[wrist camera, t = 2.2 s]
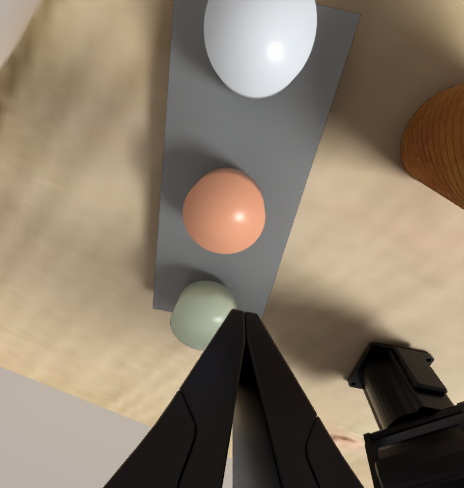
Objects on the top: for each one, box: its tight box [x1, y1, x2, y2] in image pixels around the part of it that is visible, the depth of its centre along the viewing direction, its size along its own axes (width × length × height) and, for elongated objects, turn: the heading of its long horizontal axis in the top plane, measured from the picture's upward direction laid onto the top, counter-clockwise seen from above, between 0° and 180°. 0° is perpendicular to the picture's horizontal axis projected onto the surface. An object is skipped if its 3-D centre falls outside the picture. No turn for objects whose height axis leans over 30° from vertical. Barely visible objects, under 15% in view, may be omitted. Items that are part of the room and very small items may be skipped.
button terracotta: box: [183, 168, 265, 254], centre depth 16 cm, size 5×5×2 cm
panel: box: [153, 0, 361, 320], centre depth 19 cm, size 23×10×2 cm, turn 169°
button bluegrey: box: [204, 0, 317, 100], centre depth 12 cm, size 5×5×2 cm
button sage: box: [170, 281, 237, 350], centre depth 20 cm, size 5×5×2 cm
